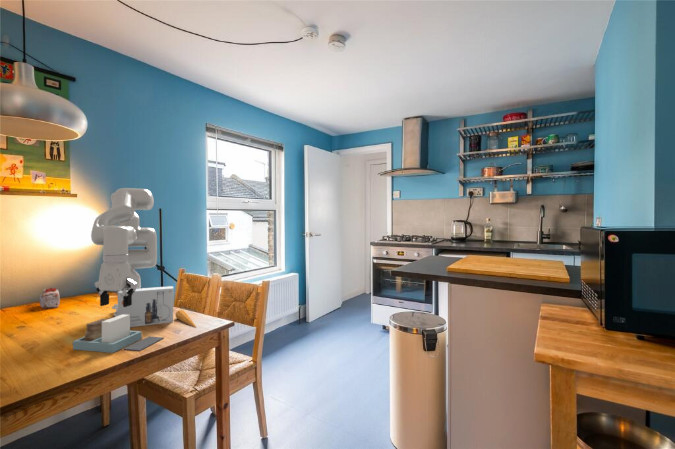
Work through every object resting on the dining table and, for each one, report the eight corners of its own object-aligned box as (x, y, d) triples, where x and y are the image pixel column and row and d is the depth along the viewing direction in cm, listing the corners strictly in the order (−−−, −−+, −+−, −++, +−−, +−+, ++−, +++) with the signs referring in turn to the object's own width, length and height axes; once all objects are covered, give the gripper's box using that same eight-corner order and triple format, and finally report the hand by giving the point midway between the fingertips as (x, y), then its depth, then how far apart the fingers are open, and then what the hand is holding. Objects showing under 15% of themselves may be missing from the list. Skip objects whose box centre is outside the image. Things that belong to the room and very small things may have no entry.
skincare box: (117, 329, 134) (117, 292, 133) (119, 325, 138) (119, 289, 138) (173, 322, 143) (173, 287, 143) (173, 319, 148) (173, 285, 148)
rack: (72, 349, 113) (72, 341, 113) (105, 336, 126) (105, 328, 126) (112, 352, 110) (112, 344, 110) (141, 339, 123) (141, 331, 123)
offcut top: (86, 330, 116) (86, 324, 116) (101, 325, 122) (101, 318, 122) (94, 331, 116) (94, 324, 115) (109, 325, 121) (109, 319, 121)
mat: (123, 349, 113) (123, 348, 113) (149, 337, 125) (149, 336, 125) (139, 351, 112) (139, 350, 112) (163, 338, 124) (163, 337, 124)
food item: (60, 307, 165) (60, 289, 165) (39, 310, 160) (39, 291, 160) (59, 302, 175) (59, 285, 175) (39, 305, 170) (39, 287, 169)
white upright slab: (101, 349, 113) (101, 321, 113) (122, 339, 122) (122, 314, 122) (109, 349, 113) (109, 322, 113) (129, 340, 122) (129, 314, 122)
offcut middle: (84, 339, 115) (84, 331, 115) (101, 332, 123) (101, 324, 123) (95, 340, 115) (95, 332, 115) (111, 332, 122) (111, 325, 122)
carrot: (176, 319, 150) (172, 312, 148) (185, 314, 152) (181, 306, 151) (193, 334, 136) (189, 326, 134) (203, 328, 139) (199, 320, 137)
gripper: (86, 260, 115) (86, 307, 115) (128, 261, 112) (128, 309, 112) (104, 258, 122) (104, 302, 122) (144, 258, 119) (144, 304, 119)
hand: (116, 305), depth 117 cm, fingers open, 9 cm apart
